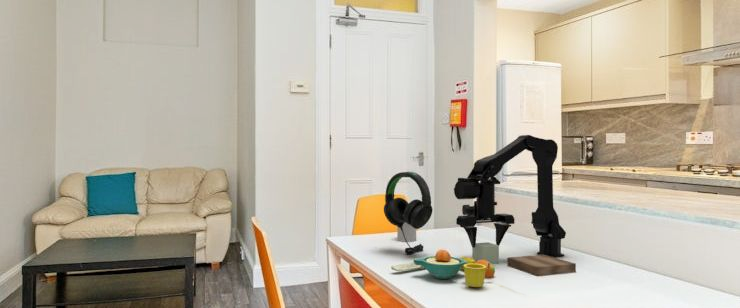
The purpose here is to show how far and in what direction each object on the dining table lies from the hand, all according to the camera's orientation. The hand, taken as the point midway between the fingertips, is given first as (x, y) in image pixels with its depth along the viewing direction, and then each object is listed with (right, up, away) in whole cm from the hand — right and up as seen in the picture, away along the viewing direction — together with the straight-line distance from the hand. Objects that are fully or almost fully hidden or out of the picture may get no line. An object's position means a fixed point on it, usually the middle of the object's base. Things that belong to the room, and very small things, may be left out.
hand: (485, 246), depth 154 cm
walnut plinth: (+15, -5, -8) cm, 18 cm away
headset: (-23, -5, +13) cm, 27 cm away
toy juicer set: (-15, -6, -14) cm, 21 cm away
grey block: (-23, -6, +35) cm, 42 cm away
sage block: (0, -5, 0) cm, 5 cm away
